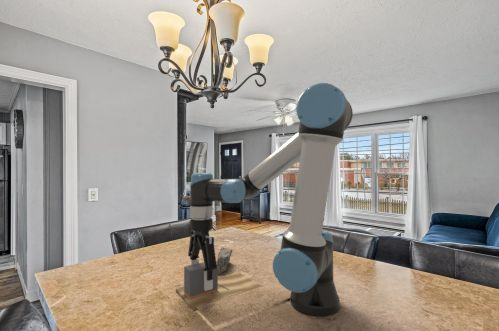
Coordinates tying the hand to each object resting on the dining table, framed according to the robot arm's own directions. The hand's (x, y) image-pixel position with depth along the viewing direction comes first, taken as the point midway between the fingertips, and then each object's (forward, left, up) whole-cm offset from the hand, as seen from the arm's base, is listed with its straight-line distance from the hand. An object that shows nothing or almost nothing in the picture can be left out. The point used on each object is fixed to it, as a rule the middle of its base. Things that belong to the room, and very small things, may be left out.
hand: (201, 283), depth 89 cm
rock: (+16, -17, -4) cm, 24 cm away
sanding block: (0, 0, -3) cm, 3 cm away
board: (0, -7, -4) cm, 8 cm away
